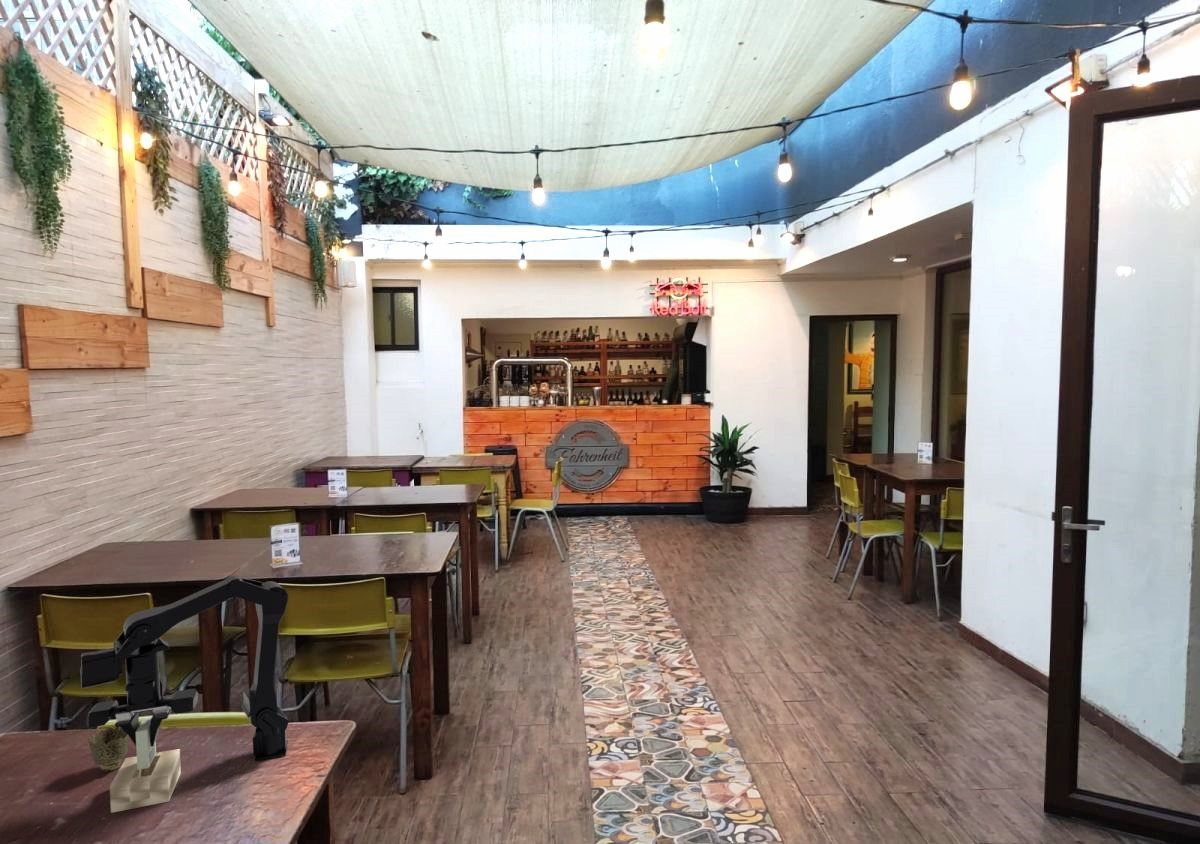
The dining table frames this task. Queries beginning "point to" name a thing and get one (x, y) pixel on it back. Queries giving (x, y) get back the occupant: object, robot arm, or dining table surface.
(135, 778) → the hollow square frame
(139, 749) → the green rectangular block
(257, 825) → the dining table surface
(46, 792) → the dining table surface
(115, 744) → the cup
